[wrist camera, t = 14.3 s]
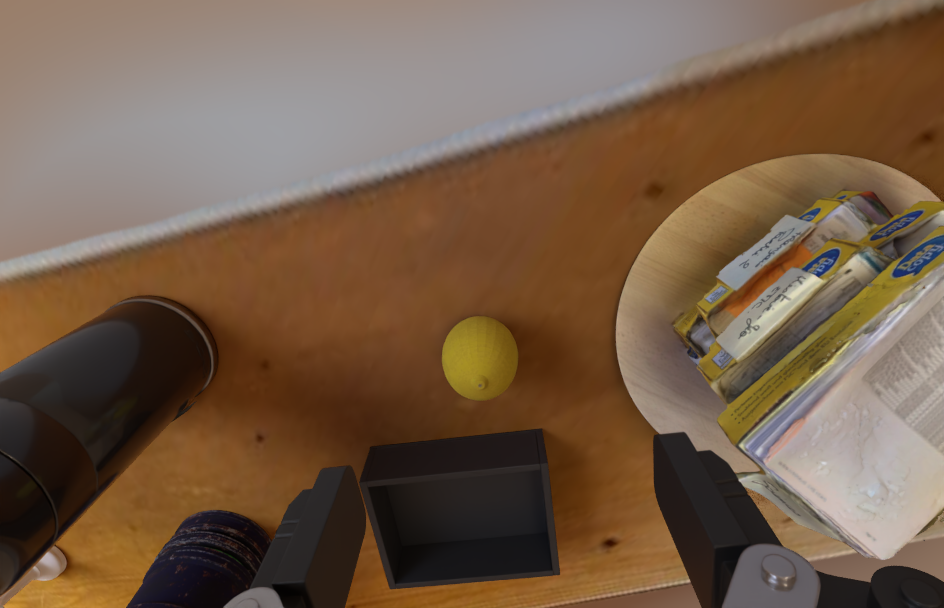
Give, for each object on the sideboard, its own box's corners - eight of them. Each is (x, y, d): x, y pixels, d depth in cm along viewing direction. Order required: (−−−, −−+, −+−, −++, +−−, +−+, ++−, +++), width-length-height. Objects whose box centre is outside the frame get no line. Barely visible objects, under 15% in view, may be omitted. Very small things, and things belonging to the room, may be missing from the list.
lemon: (486, 375, 42) (486, 434, 35) (432, 337, 41) (420, 391, 34) (529, 327, 41) (539, 380, 33) (474, 286, 39) (472, 332, 32)
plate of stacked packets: (555, 282, 39) (601, 406, 24) (881, 75, 33) (1226, 62, 18) (700, 491, 47) (807, 689, 31) (988, 352, 41) (1296, 513, 25)
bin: (397, 548, 50) (389, 589, 46) (370, 446, 45) (358, 482, 41) (553, 534, 49) (560, 575, 45) (541, 428, 44) (547, 463, 40)
